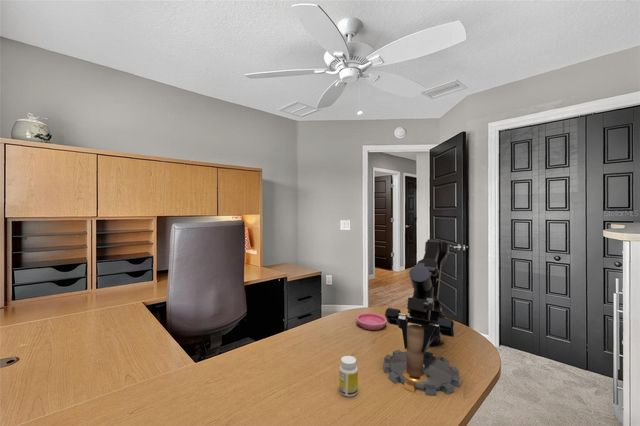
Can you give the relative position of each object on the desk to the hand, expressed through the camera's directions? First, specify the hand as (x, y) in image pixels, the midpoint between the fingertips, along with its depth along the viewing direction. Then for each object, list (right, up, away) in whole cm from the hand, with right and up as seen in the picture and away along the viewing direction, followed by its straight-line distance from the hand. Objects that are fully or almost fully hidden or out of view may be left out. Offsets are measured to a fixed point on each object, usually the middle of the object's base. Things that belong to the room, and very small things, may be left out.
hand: (414, 350), depth 78 cm
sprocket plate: (+4, -9, +6) cm, 11 cm away
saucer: (-5, -9, +40) cm, 41 cm away
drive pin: (+1, -7, +1) cm, 7 cm away
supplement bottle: (-18, -9, -4) cm, 21 cm away
